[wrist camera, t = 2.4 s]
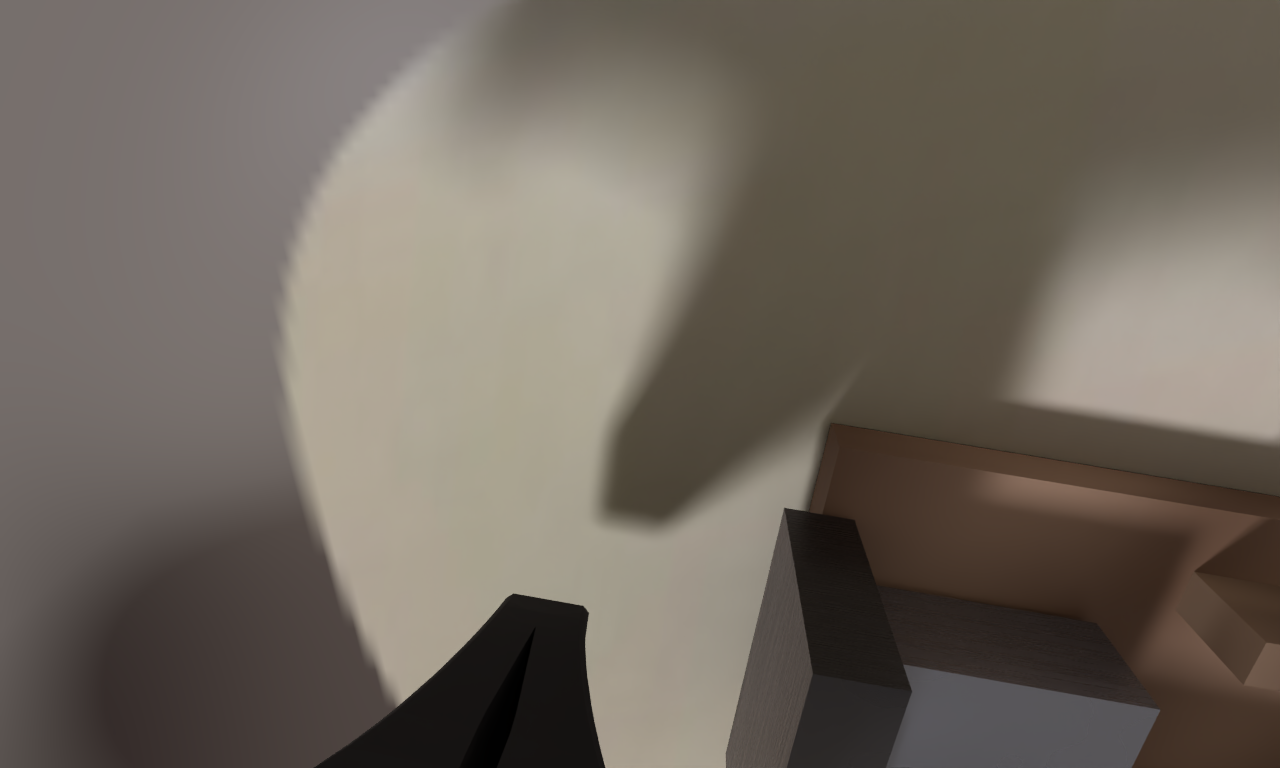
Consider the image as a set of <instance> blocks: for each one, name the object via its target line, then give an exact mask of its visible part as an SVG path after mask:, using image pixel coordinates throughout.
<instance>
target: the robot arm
mask: <svg viewBox="0 0 1280 768" xmlns="http://www.w3.org/2000/svg"><path fill="white" fill-rule="evenodd" d="M588 615H589V613H588V611H587V610H586V609H585V608H584V606H580V605H575V604H569V603H564V602H558V601H552V600H547V599H541V598H535V597H530V596H524V595H518V594H512V595H511V596H509V597H507V598H506V599H505V601H504V602H503V603H502V604H501V606H500V607H499V608H498V609H497V610H496V611H495V613H494V614H493V615H492V616H491V617H490V618H489V620H488V621H487V622H486V623H485V624H484V625H483V626H482V627H481V628H480V630H479V631H478V632H477V633H476V634H475V635H474V636H473V637H472V638H471V639H470V640H469V641H468V642H467V643H466V644H465V645H464V646H463V647H462V648H461V649H460V650H459V651H458V652H457V653H456V654H455V655H454V656H453V657H452V658H451V659H450V660H449V661H448V662H447V663H446V664H445V665H444V666H443V667H442V668H441V669H440V670H439V671H438V672H437V673H436V674H435V675H434V676H432V677H431V678H430V679H429V680H428V681H427V682H426V683H424V684H423V685H422V686H421V687H420V688H419V689H418V690H417V691H415V692H414V693H413V694H412V695H411V696H410V697H409V698H407V699H406V700H405V701H404V702H403V703H402V704H400V705H399V706H398V707H397V708H396V709H395V710H393V711H392V712H391V713H389V714H388V715H387V716H386V717H384V718H383V719H382V720H381V721H379V722H378V723H377V724H375V725H374V726H373V727H371V728H370V729H369V730H367V731H366V732H365V733H363V734H362V735H361V736H359V737H358V738H357V739H355V740H354V741H352V742H351V743H350V744H349V745H347V746H345V747H344V748H342V749H341V750H339V751H338V752H336V753H335V754H334V755H332V756H330V757H329V758H327V759H326V760H324V761H323V762H322V763H320V764H319V765H317V766H316V767H314V768H605V765H604V761H603V757H602V753H601V749H600V745H599V741H598V736H597V732H596V727H595V723H594V717H593V712H592V707H591V700H590V693H589V686H588V679H587V669H586V654H585V636H586V629H587V622H588Z"/></svg>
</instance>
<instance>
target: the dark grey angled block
mask: <svg viewBox="0 0 1280 768" xmlns="http://www.w3.org/2000/svg"><path fill="white" fill-rule="evenodd" d="M1159 712H1160V708H1159V707H1158V706H1157V704H1156V703H1155V702H1154V700H1153V699H1152V697H1151V696H1150V695H1149V693H1148V692H1147V691H1146V689H1145V688H1144V687H1143V685H1142V684H1141V683H1140V681H1139V680H1138V678H1137V677H1136V676H1135V674H1134V673H1133V672H1132V670H1131V669H1130V668H1129V666H1128V665H1127V664H1126V662H1125V661H1124V659H1123V658H1122V657H1121V655H1120V654H1119V653H1118V651H1117V650H1116V649H1115V647H1114V646H1113V644H1112V643H1111V642H1110V640H1109V639H1108V638H1107V636H1106V635H1105V634H1104V632H1103V631H1102V630H1101V628H1100V627H1099V625H1098V624H1097V623H1093V622H1087V621H1082V620H1076V619H1070V618H1064V617H1058V616H1053V615H1047V614H1041V613H1035V612H1029V611H1024V610H1018V609H1012V608H1006V607H1000V606H995V605H989V604H983V603H977V602H971V601H966V600H960V599H954V598H948V597H942V596H937V595H931V594H925V593H919V592H913V591H908V590H902V589H896V588H890V587H884V586H879V585H876V582H875V579H874V576H873V573H872V570H871V567H870V564H869V561H868V558H867V555H866V552H865V549H864V546H863V544H862V541H861V538H860V535H859V532H858V529H857V526H856V523H855V520H852V519H847V518H841V517H835V516H829V515H823V514H817V513H811V512H805V511H799V510H793V509H787V508H784V512H783V516H782V520H781V524H780V529H779V533H778V537H777V541H776V545H775V550H774V554H773V558H772V562H771V566H770V571H769V575H768V579H767V583H766V587H765V591H764V596H763V600H762V604H761V608H760V612H759V617H758V621H757V625H756V629H755V633H754V638H753V642H752V646H751V650H750V654H749V659H748V663H747V667H746V671H745V675H744V679H743V684H742V688H741V692H740V696H739V700H738V705H737V709H736V713H735V717H734V721H733V726H732V730H731V734H730V738H729V742H728V747H727V751H726V768H1132V766H1133V764H1134V762H1135V760H1136V758H1137V756H1138V754H1139V752H1140V750H1141V748H1142V746H1143V744H1144V742H1145V740H1146V738H1147V736H1148V734H1149V732H1150V730H1151V728H1152V726H1153V724H1154V722H1155V720H1156V718H1157V716H1158V714H1159Z"/></svg>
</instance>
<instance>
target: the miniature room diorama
mask: <svg viewBox="0 0 1280 768" xmlns="http://www.w3.org/2000/svg"><path fill="white" fill-rule="evenodd" d="M809 512H811V513H817V514H823V515H829V516H835V517H841V518H847V519H852V520H855V523H856V526H857V529H858V532H859V535H860V538H861V541H862V544H863V546H864V549H865V552H866V555H867V558H868V561H869V564H870V567H871V570H872V573H873V576H874V579H875V582H876V585H879V586H884V587H890V588H896V589H902V590H908V591H913V592H919V593H925V594H931V595H937V596H942V597H948V598H954V599H960V600H966V601H971V602H977V603H983V604H989V605H995V606H1000V607H1006V608H1012V609H1018V610H1024V611H1029V612H1035V613H1041V614H1047V615H1053V616H1058V617H1064V618H1070V619H1076V620H1082V621H1087V622H1093V623H1097V624H1098V625H1099V627H1100V628H1101V630H1102V631H1103V632H1104V634H1105V635H1106V636H1107V638H1108V639H1109V640H1110V642H1111V643H1112V644H1113V646H1114V647H1115V649H1116V650H1117V651H1118V653H1119V654H1120V655H1121V657H1122V658H1123V659H1124V661H1125V662H1126V664H1127V665H1128V666H1129V668H1130V669H1131V670H1132V672H1133V673H1134V674H1135V676H1136V677H1137V678H1138V680H1139V681H1140V683H1141V684H1142V685H1143V687H1144V688H1145V689H1146V691H1147V692H1148V693H1149V695H1150V696H1151V697H1152V699H1153V700H1154V702H1155V703H1156V704H1157V706H1158V707H1159V708H1160V712H1159V714H1158V716H1157V718H1156V720H1155V722H1154V724H1153V726H1152V728H1151V730H1150V732H1149V734H1148V736H1147V738H1146V740H1145V742H1144V744H1143V746H1142V748H1141V750H1140V752H1139V754H1138V756H1137V758H1136V760H1135V762H1134V764H1133V766H1132V768H1280V497H1277V496H1271V495H1265V494H1259V493H1253V492H1247V491H1240V490H1234V489H1228V488H1222V487H1216V486H1210V485H1204V484H1198V483H1192V482H1186V481H1180V480H1174V479H1168V478H1161V477H1155V476H1149V475H1143V474H1137V473H1131V472H1125V471H1119V470H1113V469H1107V468H1101V467H1095V466H1088V465H1082V464H1076V463H1070V462H1064V461H1058V460H1052V459H1046V458H1040V457H1034V456H1028V455H1022V454H1016V453H1009V452H1003V451H997V450H991V449H985V448H979V447H973V446H967V445H961V444H955V443H949V442H943V441H936V440H930V439H924V438H918V437H912V436H906V435H900V434H894V433H888V432H882V431H876V430H870V429H863V428H857V427H851V426H845V425H839V424H833V423H831V426H830V430H829V434H828V438H827V442H826V446H825V450H824V454H823V458H822V462H821V466H820V470H819V474H818V478H817V481H816V485H815V489H814V493H813V497H812V501H811V505H810V509H809Z"/></svg>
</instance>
